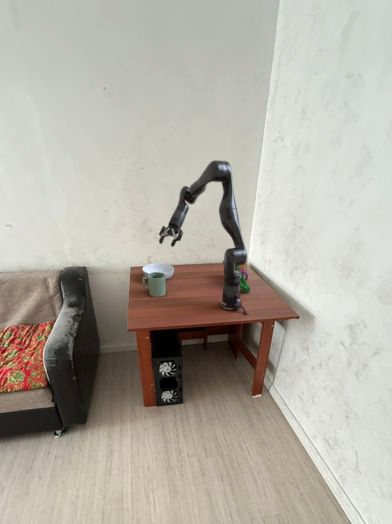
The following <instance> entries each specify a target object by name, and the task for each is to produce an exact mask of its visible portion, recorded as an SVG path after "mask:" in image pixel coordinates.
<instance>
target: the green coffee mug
mask: <svg viewBox="0 0 392 524" xmlns="http://www.w3.org/2000/svg"><path fill="white" fill-rule="evenodd" d="M155 275H156V276H159V277H161V278H158V279H157V278H153V276H155ZM145 280H147V282H148V283H147V284H148V286H146V281H145ZM166 281H167V279H166V278H165V274H164V273H161V272H153V273H150V274H148V277H146V276H142V288H143V289H144V290H148V295H149V296H151V297H154V298H160V297H164V296H165V295H166V294H167V282H166Z"/></svg>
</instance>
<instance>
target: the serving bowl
mask: <svg viewBox="0 0 392 524" xmlns="http://www.w3.org/2000/svg"><path fill="white" fill-rule="evenodd" d="M153 272H161V273H164V274H165V278H166V280H168V279H170V278H171V277H173V275H174V272H175V268H174V266H173V265H170V264H168V263H163V262H162V263H161V262H155V263H153V262H152V263H148V264H146V265H144V266H142V273H143V276H144V277H148V274H150V273H153Z"/></svg>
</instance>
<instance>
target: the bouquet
mask: <svg viewBox="0 0 392 524" xmlns="http://www.w3.org/2000/svg"><path fill="white" fill-rule="evenodd" d="M247 263H248V261H247V262H246V263H245V264H247ZM222 264H223V265H224V259H223V260H222ZM245 264H244V265H240V266H235V267H234V270H236V271H239V272H240V273H241V283H240V290H241V292H242V293H250V292H251V287H250V286H249V284H248V283H247V281H248V279H249V275H248V272H246V271H244V269H245Z"/></svg>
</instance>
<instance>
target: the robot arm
mask: <svg viewBox="0 0 392 524" xmlns="http://www.w3.org/2000/svg"><path fill="white" fill-rule="evenodd" d="M233 181H234V179H233V170H232V167H231V163H230V162H229V161H227V160H221V159H220V160H218V159H215V160H214V159H213V160H212V161H210V162H209V163H208V165H207V166H206V167H205V169H204V170H203V171H202V172H201V174H200V176H199V177H198V178H197V179H196V180H195V181H194V182H192V183H191V184H190V185H189V186H187V185H184V186H182V187H181V189H180V191H179V196H178V203H177V205H176V207H175V209H174V211H173V213H172V215H171V217H170V219H169V220H168V221H169V222H168V225H167V226H165V225H163V226H162V227H161V229H160V231H159V233H158V236H160V237H159V240H158V243H159V244H160V245H162V244H163V243H164V240H165V238H167V237H172V238H173V239H172V241H171V243H170V246H171V247H172V248H174V247H175V246H176V243H177V242H180V241H181V240H182V237H183V235H184V231H183V230H182V227H183V225H184V222H185V220H186V217H187V214H188V213H189V210H190V207H189V205H194V204H195V203H196V202H197V200H198V198H199V197H200V196H201V195H202V194H203V193H204V192H206V190H207V188H208V184H210V183H213V182H214V183H221V186H222V197H221V200H220V203H219V206H218V215H219V220H220V224H221V226H222V228H223V229H224V230H225V231H226V233H227V234H228V235H229V237H230V238H231V240H232V243H233V246H234V247H230V248H227V249H226V250H225V251H224V254H223V260H224V264H223V283H222V284H223V285H222V294H221V295H222V296H221V301H220V302H221V305H220V307H222V309H223V310H227V311H236V310H238V311H239V310H240V309H242V310H243V314H244V315H248V313H247V312H246V308H245V307H244V306H242V305H243V302H242V301H240V299H241V292H242V290H241V288H240V283H241V273H240V272H239V271H236V270H234V267H235V266H243V265H244V266H245V264H247V263H248V252H247V248H246V245H245V241H244V238H243V237H244V236H243V233H242V230H241V224H240V219H239V217H240V216H239V212H238V207H237V202H236V196H235V190H234V182H233ZM246 262H247V263H246Z"/></svg>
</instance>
